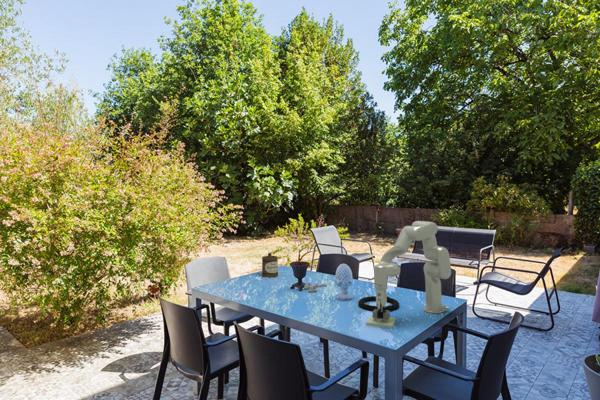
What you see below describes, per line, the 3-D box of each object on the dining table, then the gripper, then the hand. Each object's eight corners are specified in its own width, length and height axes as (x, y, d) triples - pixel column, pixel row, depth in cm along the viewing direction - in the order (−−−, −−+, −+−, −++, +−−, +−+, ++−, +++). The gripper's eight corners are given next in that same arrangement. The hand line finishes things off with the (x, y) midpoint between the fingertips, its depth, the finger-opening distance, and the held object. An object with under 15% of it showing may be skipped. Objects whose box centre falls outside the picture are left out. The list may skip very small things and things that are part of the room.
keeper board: (395, 320, 225) (395, 309, 225) (392, 328, 212) (392, 316, 212) (371, 317, 230) (370, 307, 230) (366, 325, 217) (365, 314, 217)
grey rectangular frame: (389, 316, 222) (389, 310, 222) (388, 319, 217) (388, 313, 216) (374, 314, 226) (374, 309, 225) (372, 317, 220) (372, 312, 220)
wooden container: (267, 278, 343) (266, 254, 342) (259, 275, 355) (259, 252, 355) (280, 276, 351) (280, 252, 350) (273, 273, 363) (272, 251, 363)
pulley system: (297, 292, 296) (315, 293, 289) (297, 286, 296) (314, 287, 289) (312, 286, 320) (328, 286, 313) (312, 280, 320) (328, 281, 314)
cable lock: (351, 303, 249) (367, 292, 275) (351, 309, 249) (367, 297, 275) (392, 309, 235) (405, 297, 261) (392, 315, 235) (405, 302, 261)
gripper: (384, 289, 211) (385, 321, 212) (389, 283, 227) (390, 312, 228) (371, 288, 214) (371, 320, 214) (377, 282, 230) (377, 311, 230)
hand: (381, 315), depth 221 cm, fingers closed on grey rectangular frame, 6 cm apart
